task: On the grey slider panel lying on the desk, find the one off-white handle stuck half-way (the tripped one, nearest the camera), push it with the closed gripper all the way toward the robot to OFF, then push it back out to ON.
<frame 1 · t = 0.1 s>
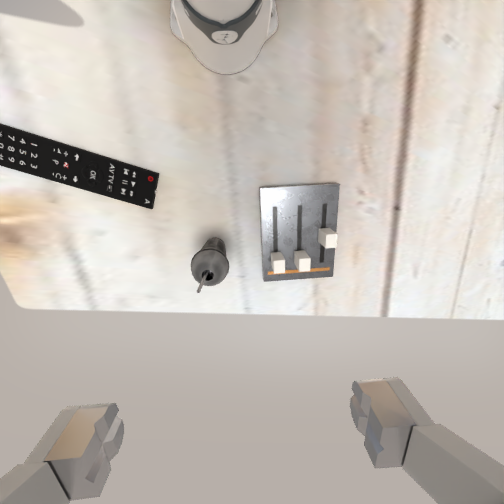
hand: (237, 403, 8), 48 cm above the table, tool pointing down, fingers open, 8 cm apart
breaker a: (277, 262, 54), point 5 cm above the table, slide at 10.0 cm
remote control: (80, 168, 50), on the table
beverage cup: (215, 246, 57), on the table
breaker b: (301, 260, 54), point 5 cm above the table, slide at 10.0 cm
grey slider panel: (297, 233, 57), on the table
tripped breaker: (327, 237, 52), point 5 cm above the table, slide at 5.0 cm
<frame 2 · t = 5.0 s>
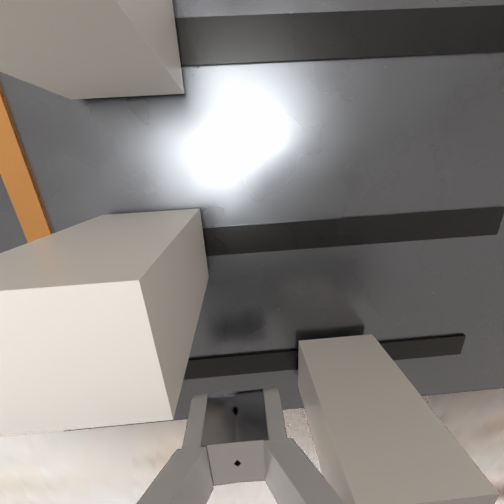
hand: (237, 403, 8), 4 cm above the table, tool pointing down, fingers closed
breaker b: (126, 282, 6), point 5 cm above the table, slide at 10.0 cm
grey slider panel: (293, 221, 10), on the table
tripped breaker: (363, 420, 8), point 5 cm above the table, slide at 3.8 cm, touching gripper
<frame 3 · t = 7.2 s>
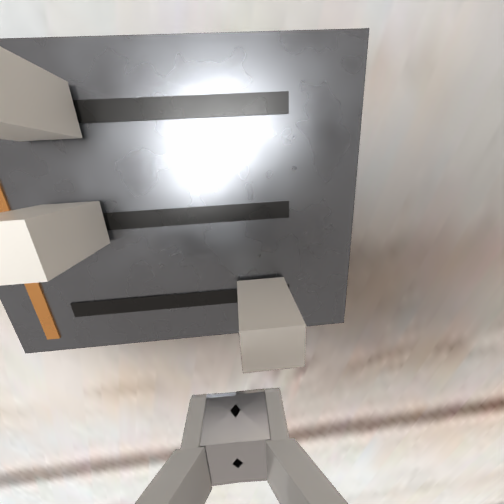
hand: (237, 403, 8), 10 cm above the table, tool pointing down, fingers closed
breaker b: (44, 236, 11), point 5 cm above the table, slide at 10.0 cm
grey slider panel: (177, 211, 16), on the table
tripped breaker: (266, 317, 13), point 5 cm above the table, slide at -0.1 cm
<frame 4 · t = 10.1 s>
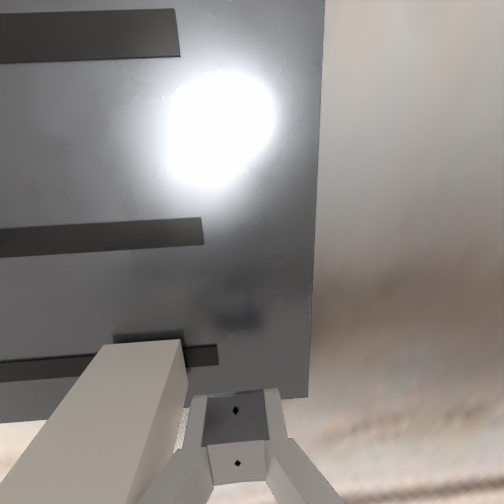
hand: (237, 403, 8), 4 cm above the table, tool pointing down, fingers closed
grey slider panel: (41, 228, 10), on the table
tripped breaker: (120, 427, 8), point 5 cm above the table, slide at 0.9 cm, touching gripper
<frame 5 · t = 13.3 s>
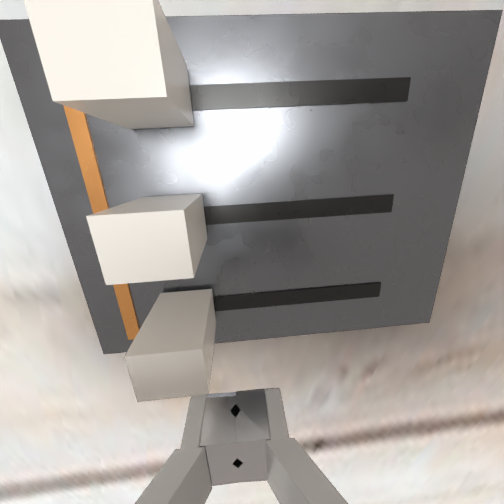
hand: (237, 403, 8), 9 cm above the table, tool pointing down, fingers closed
breaker a: (135, 78, 8), point 5 cm above the table, slide at 10.0 cm
breaker b: (163, 230, 10), point 5 cm above the table, slide at 10.0 cm
grey slider panel: (264, 205, 15), on the table
tripped breaker: (180, 335, 12), point 5 cm above the table, slide at 10.1 cm
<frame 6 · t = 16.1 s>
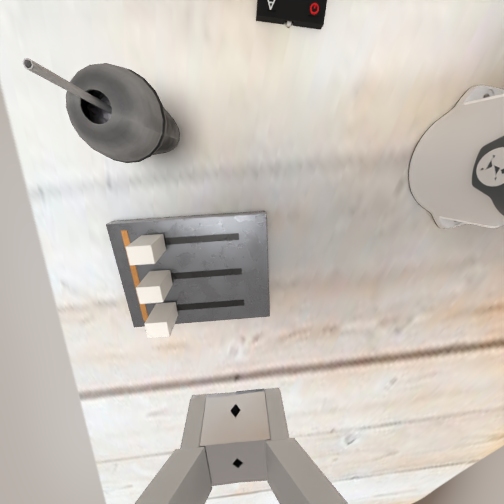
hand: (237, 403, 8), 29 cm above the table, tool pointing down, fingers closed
breaker a: (147, 248, 31), point 5 cm above the table, slide at 10.0 cm
beverage cup: (162, 133, 31), on the table
breaker b: (155, 285, 33), point 5 cm above the table, slide at 10.0 cm
grey slider panel: (197, 269, 38), on the table
tripped breaker: (162, 319, 35), point 5 cm above the table, slide at 10.1 cm
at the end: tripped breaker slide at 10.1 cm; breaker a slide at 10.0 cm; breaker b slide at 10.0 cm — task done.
